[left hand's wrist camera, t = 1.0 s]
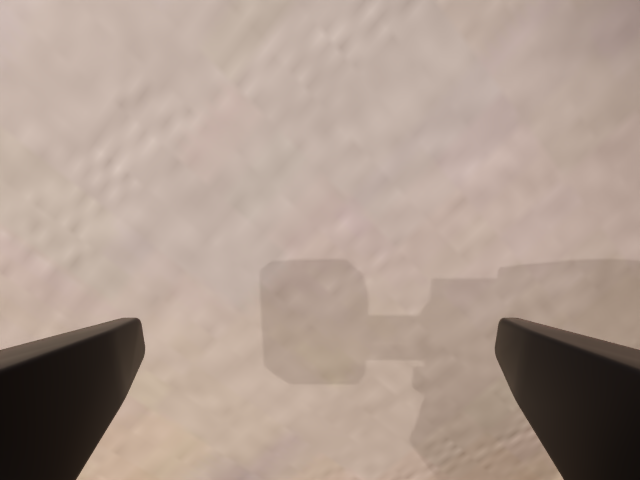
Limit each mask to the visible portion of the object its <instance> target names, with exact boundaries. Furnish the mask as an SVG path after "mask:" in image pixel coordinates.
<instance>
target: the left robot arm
mask: <svg viewBox="0 0 640 480" xmlns="http://www.w3.org/2000/svg"><path fill="white" fill-rule="evenodd" d="M144 354H145V343H144V337H143V331H142V324H141V321H140V320H139V319H138V318H121V319H117V320H113V321H109V322H105V323H101V324H98V325H94V326H90V327H86V328H82V329H79V330H75V331H71V332H67V333H63V334H60V335H56V336H52V337H48V338H44V339H41V340H37V341H33V342H29V343H25V344H22V345H18V346H14V347H10V348H6V349H2V350H0V480H76V479H77V477H78V476H79V474H80V472H81V471H82V469H83V467H84V466H85V464H86V462H87V461H88V459H89V458H90V456H91V454H92V453H93V451H94V449H95V448H96V446H97V444H98V443H99V441H100V439H101V438H102V436H103V435H104V433H105V431H106V430H107V428H108V426H109V425H110V423H111V421H112V420H113V418H114V417H115V415H116V413H117V412H118V410H119V408H120V407H121V405H122V403H123V401H124V400H125V398H126V396H127V394H128V391H129V389H130V387H131V385H132V382H133V380H134V378H135V376H136V374H137V371H138V369H139V367H140V365H141V362H142V360H143V358H144ZM495 354H496V358H497V360H498V362H499V365H500V367H501V369H502V371H503V374H504V376H505V378H506V380H507V382H508V385H509V387H510V389H511V391H512V394H513V396H514V398H515V400H516V401H517V403H518V405H519V407H520V408H521V410H522V412H523V413H524V415H525V417H526V418H527V420H528V421H529V423H530V425H531V426H532V428H533V430H534V431H535V433H536V435H537V436H538V438H539V439H540V441H541V443H542V444H543V446H544V448H545V449H546V451H547V453H548V454H549V456H550V458H551V459H552V461H553V462H554V464H555V466H556V467H557V469H558V471H559V472H560V474H561V476H562V477H563V479H564V480H640V350H638V349H634V348H630V347H626V346H622V345H619V344H615V343H611V342H607V341H603V340H599V339H596V338H592V337H588V336H584V335H580V334H577V333H573V332H569V331H565V330H561V329H558V328H554V327H550V326H546V325H542V324H539V323H535V322H531V321H527V320H523V319H519V318H502V319H501V320H500V321H499V324H498V331H497V337H496V343H495Z"/></svg>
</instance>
